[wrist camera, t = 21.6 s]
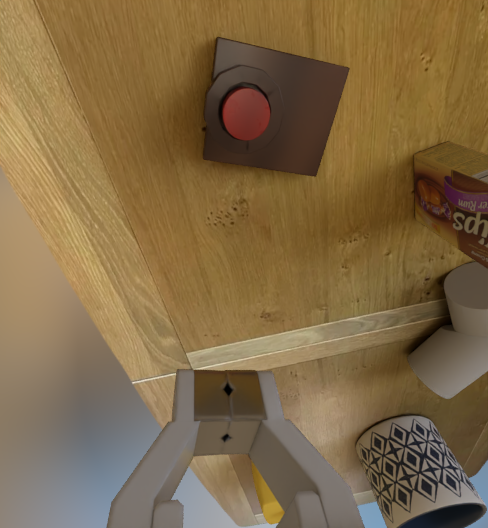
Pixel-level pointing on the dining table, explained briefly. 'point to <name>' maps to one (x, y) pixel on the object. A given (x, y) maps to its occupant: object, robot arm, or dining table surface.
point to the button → (245, 113)
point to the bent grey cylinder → (457, 335)
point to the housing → (273, 107)
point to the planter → (417, 476)
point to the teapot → (266, 499)
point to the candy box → (454, 196)
